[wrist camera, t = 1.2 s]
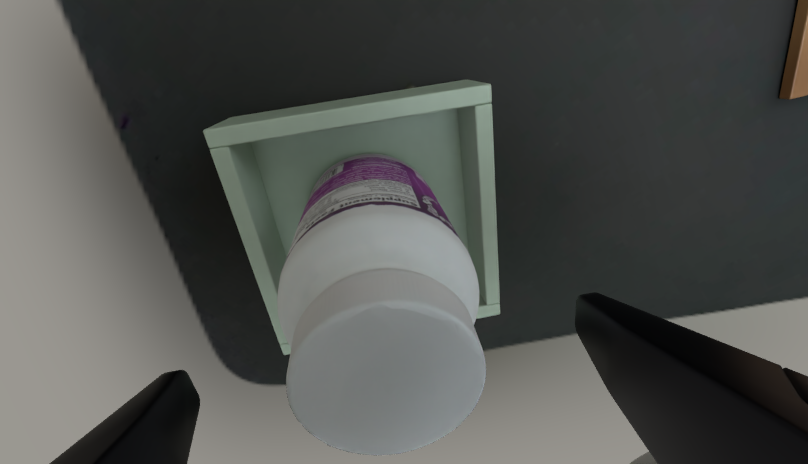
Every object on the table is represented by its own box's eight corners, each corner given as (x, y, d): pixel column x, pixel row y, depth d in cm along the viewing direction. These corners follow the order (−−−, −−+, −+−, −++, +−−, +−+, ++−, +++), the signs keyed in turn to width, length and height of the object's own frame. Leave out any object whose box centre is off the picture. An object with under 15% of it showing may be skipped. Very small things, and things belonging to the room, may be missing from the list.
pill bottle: (441, 254, 17) (526, 451, 9) (326, 278, 17) (295, 503, 8) (423, 136, 15) (517, 243, 6) (291, 162, 15) (199, 309, 6)
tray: (480, 278, 19) (500, 314, 16) (293, 313, 18) (283, 355, 16) (467, 79, 15) (491, 83, 12) (229, 117, 14) (201, 130, 12)
